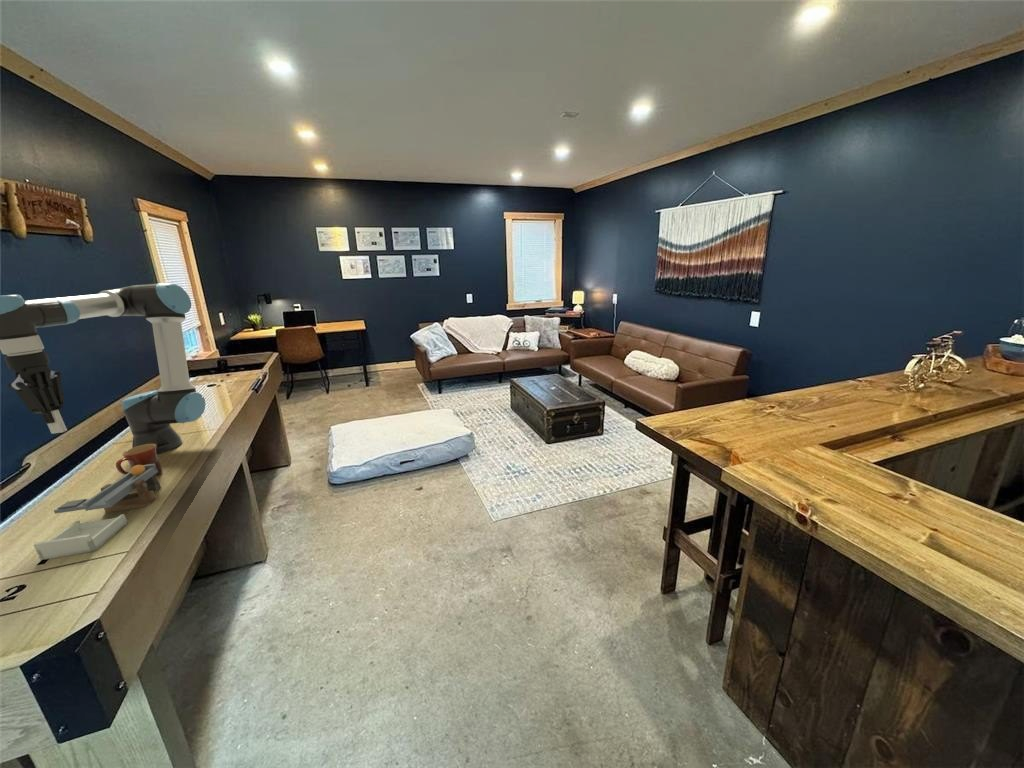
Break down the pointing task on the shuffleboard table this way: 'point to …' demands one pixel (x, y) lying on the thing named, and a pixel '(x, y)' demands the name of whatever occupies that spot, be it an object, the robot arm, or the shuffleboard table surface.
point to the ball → (138, 470)
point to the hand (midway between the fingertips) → (59, 431)
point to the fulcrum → (137, 495)
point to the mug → (140, 457)
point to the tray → (80, 538)
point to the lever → (109, 493)
